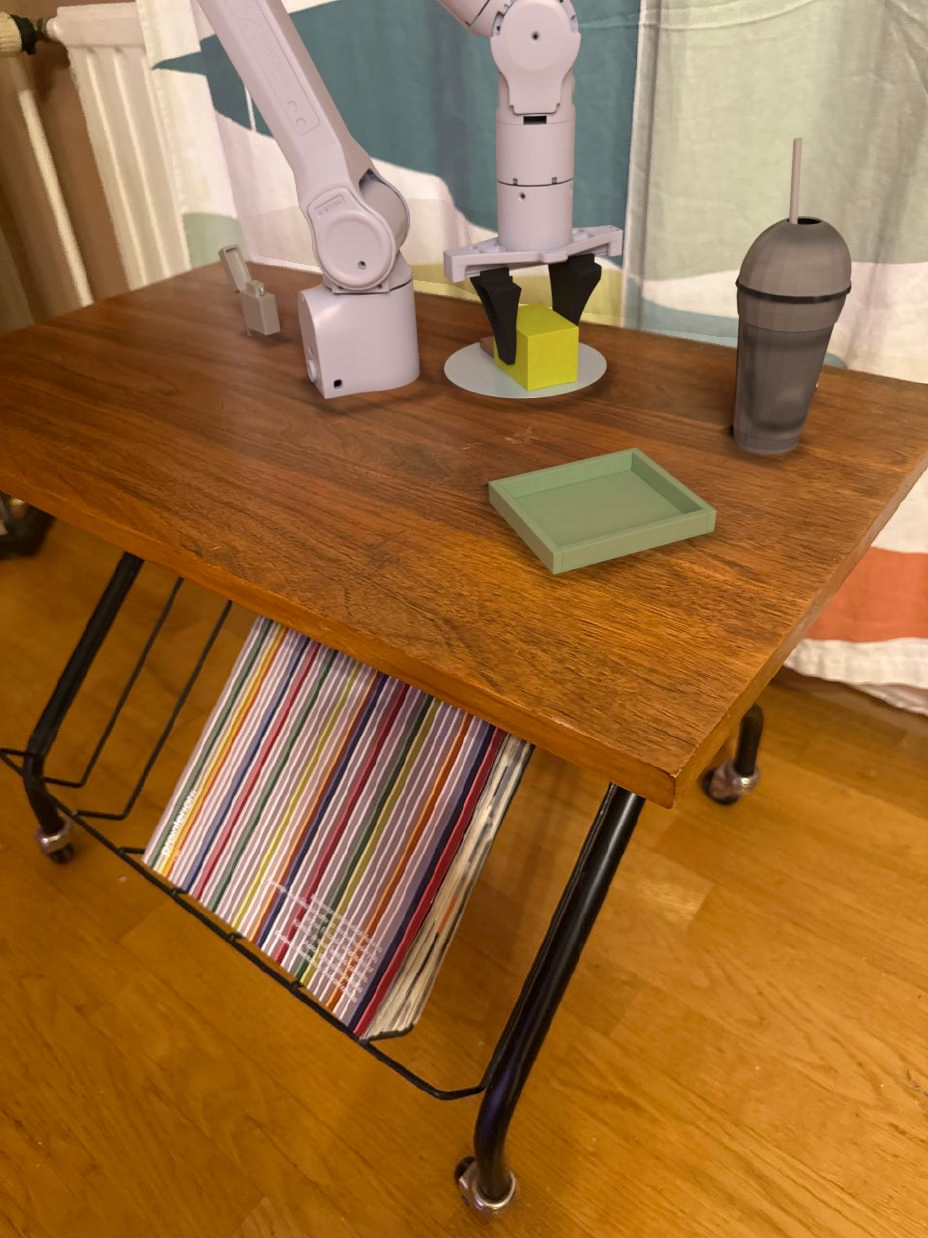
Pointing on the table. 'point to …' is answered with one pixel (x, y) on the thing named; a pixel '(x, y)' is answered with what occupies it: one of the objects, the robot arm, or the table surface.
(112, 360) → the table surface
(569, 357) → the sponge
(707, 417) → the table surface
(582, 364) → the plate
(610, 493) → the sponge dish
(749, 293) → the beverage cup
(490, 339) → the block
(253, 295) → the lighter
